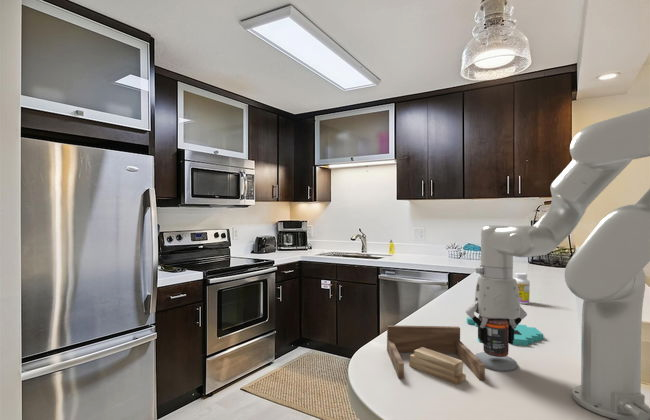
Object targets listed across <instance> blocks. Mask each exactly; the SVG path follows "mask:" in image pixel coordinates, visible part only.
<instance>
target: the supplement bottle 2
mask: <svg viewBox="0 0 650 420" xmlns="http://www.w3.org/2000/svg"><path fill="white" fill-rule="evenodd" d="M514 275H515V277H514V279H516V281H517V286H518V291H519V300H520V305H529V304H530V294H531V293H530V292H531V291H530V286H531V285H530V280H529V279H527V278H528V273H526V272H515V273H514Z"/></svg>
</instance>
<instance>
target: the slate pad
mask: <svg viewBox="0 0 650 420" xmlns="http://www.w3.org/2000/svg"><path fill="white" fill-rule="evenodd" d="M474 355H475V356H476V357H477V358H478V359H479V360H480V361H481V362H482V363H483V364H484V365H485V369H488V370H492V371H498V372H513V371H515V370H517V368H518V363H517V361H516V360H515V359H514V358H512V357H510V356H508V355H507V356H505V357H495V356H491V355H488V354H486V353H485V352H484V351H482V352H478V353H475V354H474Z"/></svg>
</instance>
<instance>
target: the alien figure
mask: <svg viewBox="0 0 650 420" xmlns="http://www.w3.org/2000/svg"><path fill="white" fill-rule="evenodd" d="M466 324H467V325H474V326H475V327H476V328H478V325H477V324H476V323H475V322H474V321H473V320H472V319H471V318H470V317H469V316H468V317H467V316H466ZM477 340H478V342H479V343H482V342H481V341H480V340H479V338H478V337H477ZM539 340H540V341H543V340H544V333H542V332H541V331H540V330H539V329H538V328H537V327H533V326H532V327H531V326H527V325H526V324H520V323H519V324H518V325H517V327H516V329H514V340H513V344H510V345H511V346H523V347H527V346H528V344H531V345H533V344H534V342H536V343H538V342H539Z"/></svg>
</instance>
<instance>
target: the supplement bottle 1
mask: <svg viewBox="0 0 650 420" xmlns="http://www.w3.org/2000/svg"><path fill="white" fill-rule="evenodd" d="M485 328H486V329H487V343H486V344H483V343H482V345H483V347H482V348H483V352H485V353H486V354H488V355H491V356H495V357H505V356H508V355H509V349H510V348H509V345H510V344H509V343H508V342H509V335H508V332H509V331H508V330H509V329H508V321H507V319H488V320H487V323H486V325H485Z"/></svg>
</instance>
